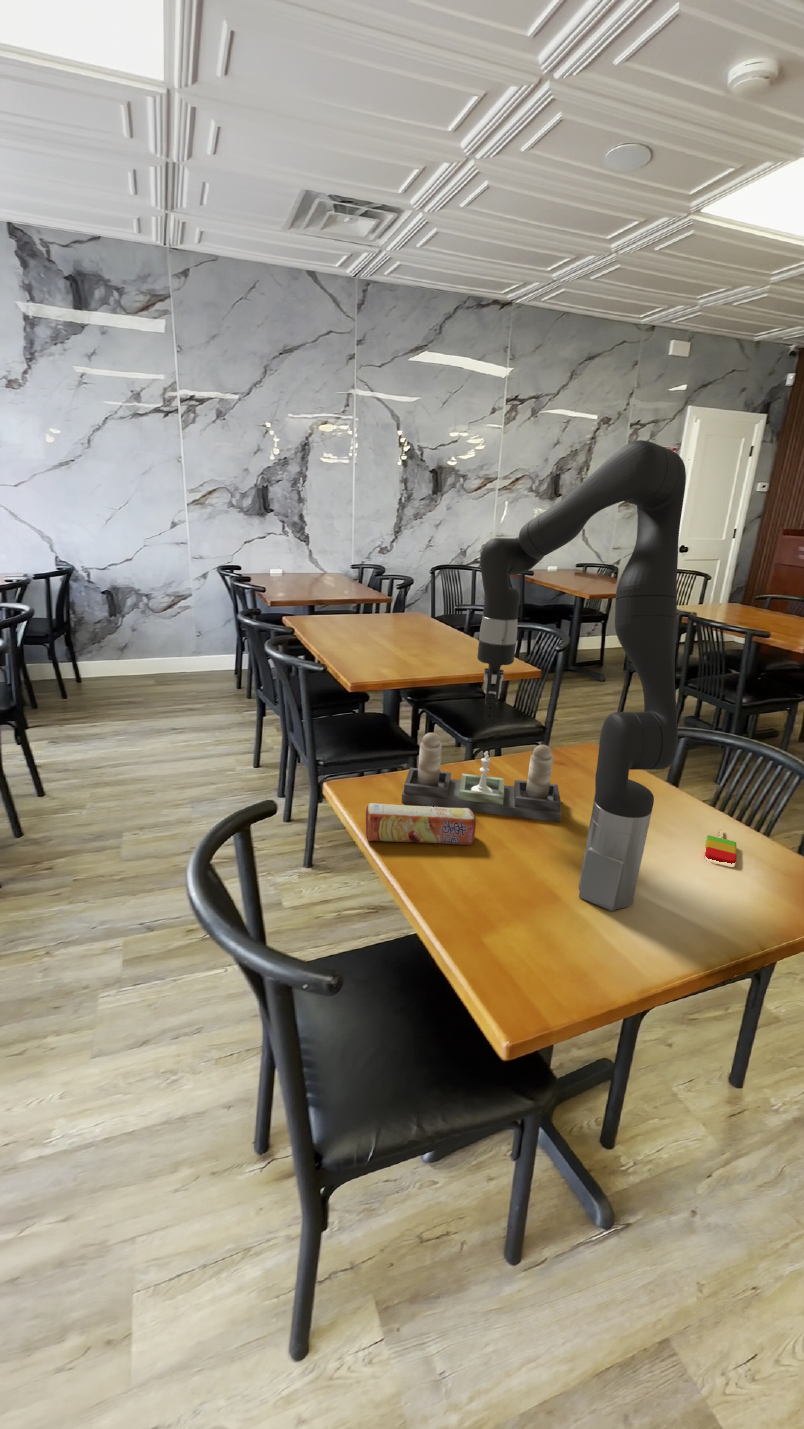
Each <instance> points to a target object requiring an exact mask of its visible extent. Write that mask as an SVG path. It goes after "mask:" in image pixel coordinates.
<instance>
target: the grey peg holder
mask: <svg viewBox="0 0 804 1429" xmlns="http://www.w3.org/2000/svg"><path fill="white" fill-rule="evenodd" d="M442 749H443V744H441V738H440V735H438V734H437V733H435V732H427V733H425V734H424V736H423V737H422V740H421V742H420V743H419V756H418V767H409V770H408V772H407V775H406V779H405V781H404V785H403V791H402V794H401V802H404V803H403V804H408V803H409V804H411V805H417V804H421V805H420V806H425V805H426V806H430V807H433V806H434V807H444V808H468V809H470V810H471V811H472V812H473V813H474V812H475V813H483V814H493V815H499V816H508V817H516V818H522V819H532V820H533V819H534V820H540V821H548V822H555V823H556V822H557V823H561V817H562V809H561V807H562V802H561V795H560V790H559V786H558V784H556V783H551V777H552V771H553V770H552V769H553V765H554V757H553V751H552V749H551V748H550V746H548V745H547V744H539V745H537V746H536V747H534V749H533V751H532V752H533V753H532V754H530V757H529V758H530V760H529V766H528V774H527V780H521V779H514V783H513V784H514V785H505V778H504V777H503V778H502V777H495V776H487V775H486V785H487V786H488V787H489V788H491V789H492V790H493V793H487V792H478V791H471V788H472V787H473V786H476V785H478V784H479V782H480V779H481V775H477V774H469V773H461V778H460V779H453V778H451V776H452V772H451V771H445V770H444V771H443V770H441V764H442V763H441V760H442Z"/></svg>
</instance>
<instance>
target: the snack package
mask: <svg viewBox="0 0 804 1429" xmlns="http://www.w3.org/2000/svg"><path fill="white" fill-rule="evenodd" d="M476 823H477V821H476V818H475V814H474V811H471V810H470V809H468V808H444V807H433V806H425V805H404V804H403V805H402V804H390V803H389V804H388V803H374V802H370V803H368V804H367V805H366V809H365V836H366V837H365V838H366V839H367V841H369V842H394V843H397V842H398V843H423V844H424V843H425V844H429V843H430V844H449V845H462V846H470V845H472V844H473V843H474V841H475V835H476V826H477V824H476Z"/></svg>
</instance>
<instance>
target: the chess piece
mask: <svg viewBox="0 0 804 1429" xmlns="http://www.w3.org/2000/svg"><path fill="white" fill-rule="evenodd" d="M483 756H484V757H483V758H480V761H481V766H482V767H480V768H479V771H480V772H481V775H480V776H481V779H480V782H479V784H478V785H476V786H473V787H472V788H471V791H478V792H487V793H493V790H492V789H491V788H489V787H488V786H487V785H486V776H487V773H489V772H490V769H489V768H488V767H489V765H490V763H491V759H490V755H489V751H488V750H486V751H485V752H483Z"/></svg>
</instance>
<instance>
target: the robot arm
mask: <svg viewBox="0 0 804 1429" xmlns="http://www.w3.org/2000/svg"><path fill="white" fill-rule="evenodd" d="M686 482H687V472H686V465H685V463H684V460H683V459H682V457H681V456H680V455H679V454H678V453H677V452H675V451H673V450H672V449H669V448H666V447H664V446H662V445H660V444H657V443H655V442H652V441H648V440H644V439H640V440H632V441H631V442H629V443H627V444H625V445H624V446H622V447H620V448H619V449H618V450H617V451H616V452H614V454H612V455H611V456H610V457H609V458H608V459H607V460H605V461H604V462H602V464H601V465H600V466H599V467H598V468H597V469H596V470H594V472H593V473H591V474H590V475H589V476H587V478H586V479H584V480H583V481H582V482H581V483H580V484H578V486H577V487H576V488H574V489H573V490H572V491H571V492H570V493H569V494H567V495H566V496H565V497H563V499H561V500H559V501H558V502H557V503H556V504H554V505H552V506H551V507H549V508H548V509H547V510H546V509H545V511H543V512H542V513H540V514H539V515H537V516H535V517H534V518H532V519H531V520H529V521H528V522H527V523H525V524H524V525H522V527H521V529H520V530H519V534H518V537H516V538H511V537H510V538H508V537H507V538H506V537H503V538H502V537H496V538H491V539H489V540H488V541H487V542H486V543H485V544H484V545H483V548H482V550H481V553H480V557H479V558H480V559H479V564H480V565H479V566H480V574H481V579H482V587H483V591H484V593H483V594H484V600H483V611H482V619H481V624H480V628H479V635H478V636H479V638H478V647H477V657H476V658H477V660H478V661H479V662H481V663H482V664H487V665H488V668H487V667H485V668H484V673H483V680H484V687H483V693H484V694H485V698H484V714H483V719H484V721H485V722H494V721H495V720H496V711H497V705H498V704H499V695H500V694H501V691H502V682H503V680H504V674H505V673H504V669H502V668H501V667H502V666H509V665H510V666H511V665H512V664H514V661H515V653H516V645H517V638H518V637H517V636H518V616H519V608H520V601H521V599H520V598H521V597H520V596H521V594H520V592H519V590H517V589H516V588H513V587H511V586H510V585H509V584H510V583H509V580H508V579H509V578H508V576H512V575H513V576H516V575H521V574H523V573H525V572H528V571H530V570H531V569H533V568H534V567H535V566H536V565H537V564H538V563H540V561H542V560H543V558H544V557H545V556H548V555H549V554H551V553H553V552H554V551H556V550H558V549H560V548H562V547H564V546H565V545H567V544H569V543H570V542H571V541H573V540H575V538H576V537H577V536H578V535H579V534H580V533H581V532H582V530H583V529H584V527H585V526H586V524H587V523H588V522H589V520H590V519H591V518H592V517H593V516H595V514H597V513H599V512H600V511H602V510H604V509H606V508H609V507H611V506H613V505H616V504H620V503H622V502H624V503H628V504H630V505H635V506H636V510H637V511H636V512H637V526H636V527H637V528H636V530H637V532H636V540H635V545H634V547H633V551H632V553H631V556H630V558H629V559H628V561H627V563H626V565H625V567H624V568H623V571H622V573H621V575H620V578H619V580H618V584H617V585H616V590H615V591H616V592H615V602H614V603H615V606H614V628H615V634H616V636H617V639H618V642H619V643H620V645H621V648H622V650H623V651H624V653H625V654H626V656H627V658H628V659H629V661H630V663H631V665H632V666H633V669H635V671H636V673H637V676H638V678H639V681H640V683H641V688H642V693H643V702H644V704H643V706H644V707H643V708H644V710H643V711H638V712H637V711H617V712H611V713H610V714H609V715H608V716H607V717H606V718H605V719H604V721H603V724H602V727H601V732H600V736H599V746H598V755H597V760H596V761H597V763H596V769H595V770H596V771H595V791H594V792H595V793H594V800H593V805H592V810H591V815H590V820H589V827H588V831H587V832H588V833H587V838H586V844H585V850H584V854H583V860H582V867H581V871H580V872H581V873H580V879H579V884H578V890H579V893H578V898H580V899H583V900H585V901H588V902H589V903H592V904H594V905H596V906H599V907H601V908H603V909H605V910H608V911H609V912H615V910H618V909H624V908H627V907H629V906H631V905H632V904H633V901H634V899H635V894H636V890H637V885H638V884H637V883H638V878H639V874H640V871H641V870H640V869H641V864H642V859H643V857H644V856H643V855H644V850H645V845H646V842H647V841H646V840H647V837H648V831H649V826H650V822H651V816H652V813H653V807H654V803H655V802H654V801H655V797H654V794H653V793H652V792H653V791H651V790H650V789H649V788H647V787H646V786H645V785H643V784H641V783H639V782H637V781H636V780H635V781H634V780H632V779H630V778H629V774H630V771H631V770H633V771H634V770H636V771H637V770H640V771H641V770H643V771H645V770H647V771H648V770H649V771H650V770H656V771H657V770H665V769H668V768H669V767H671V765H672V764H673V763H674V760H675V758H676V755H677V751H678V746H679V745H678V744H679V743H678V741H679V727H678V726H679V725H678V710H677V699H676V698H677V696H676V695H677V694H676V682H675V681H676V679H675V678H676V677H675V675H676V674H675V669H676V668H675V666H676V665H675V659H676V658H675V657H676V656H675V655H676V653H675V652H676V651H675V649H676V631H677V630H676V629H677V617H678V616H677V614H678V612H677V611H678V610H677V608H678V566H679V564H678V563H679V540H680V539H679V538H680V527H681V520H682V513H683V505H684V499H685V492H686Z"/></svg>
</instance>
